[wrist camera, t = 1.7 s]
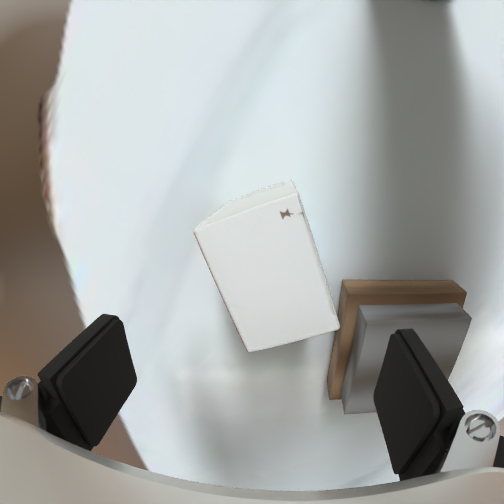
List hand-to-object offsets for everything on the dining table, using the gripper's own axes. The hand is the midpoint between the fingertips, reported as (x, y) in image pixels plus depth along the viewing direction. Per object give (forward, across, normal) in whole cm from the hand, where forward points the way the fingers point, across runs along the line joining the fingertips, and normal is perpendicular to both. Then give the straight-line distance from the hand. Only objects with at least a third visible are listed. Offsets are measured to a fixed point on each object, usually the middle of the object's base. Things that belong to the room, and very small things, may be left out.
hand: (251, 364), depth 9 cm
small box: (+16, 0, -1) cm, 17 cm away
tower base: (+16, -12, +9) cm, 23 cm away
